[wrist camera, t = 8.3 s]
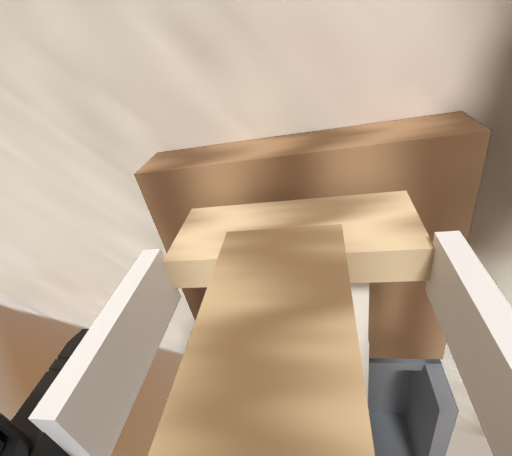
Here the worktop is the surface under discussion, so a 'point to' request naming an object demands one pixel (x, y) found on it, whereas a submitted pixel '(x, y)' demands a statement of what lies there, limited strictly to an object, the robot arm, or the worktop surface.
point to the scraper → (283, 323)
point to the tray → (410, 407)
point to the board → (338, 184)
